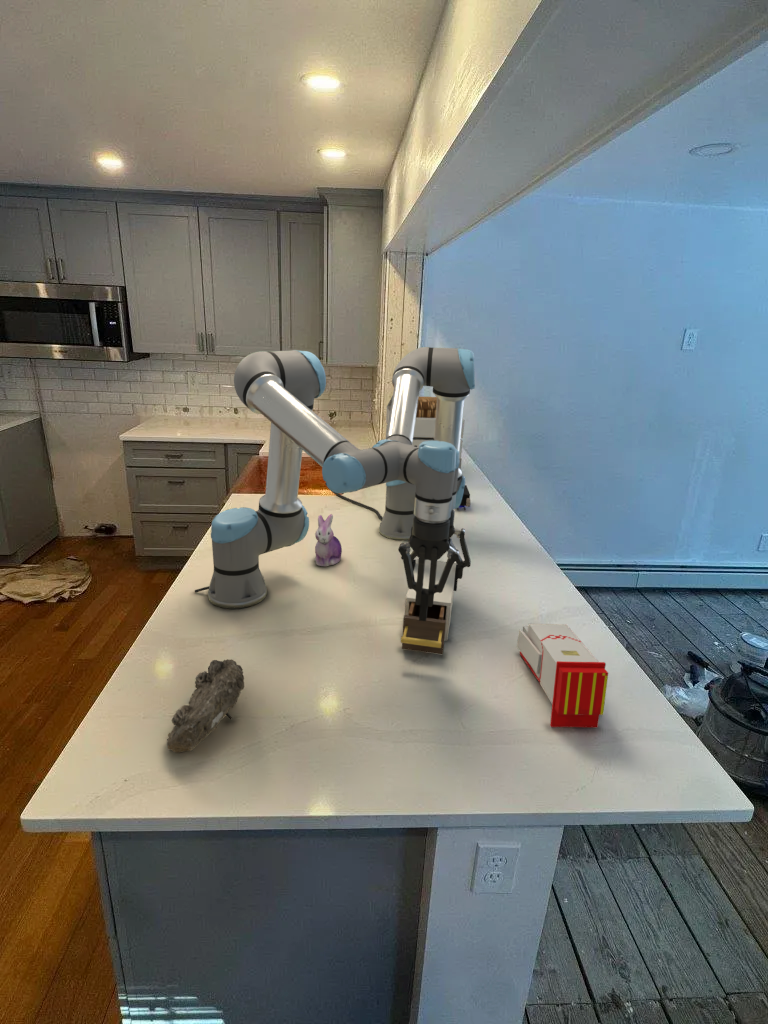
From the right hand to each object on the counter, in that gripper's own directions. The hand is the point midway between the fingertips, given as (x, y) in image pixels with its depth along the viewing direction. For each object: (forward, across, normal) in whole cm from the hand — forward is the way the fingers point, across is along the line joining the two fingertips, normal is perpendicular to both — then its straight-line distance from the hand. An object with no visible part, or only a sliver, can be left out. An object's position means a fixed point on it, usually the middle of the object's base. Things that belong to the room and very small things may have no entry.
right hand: (433, 586), depth 151 cm
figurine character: (+5, +3, +84) cm, 84 cm away
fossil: (+6, -37, -54) cm, 66 cm away
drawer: (+5, 0, -17) cm, 17 cm away
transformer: (+5, -18, +128) cm, 130 cm away
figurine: (+6, -34, +19) cm, 40 cm away
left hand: (-6, 0, -27) cm, 28 cm away
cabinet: (+5, 0, -6) cm, 8 cm away
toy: (+6, +29, -28) cm, 41 cm away
